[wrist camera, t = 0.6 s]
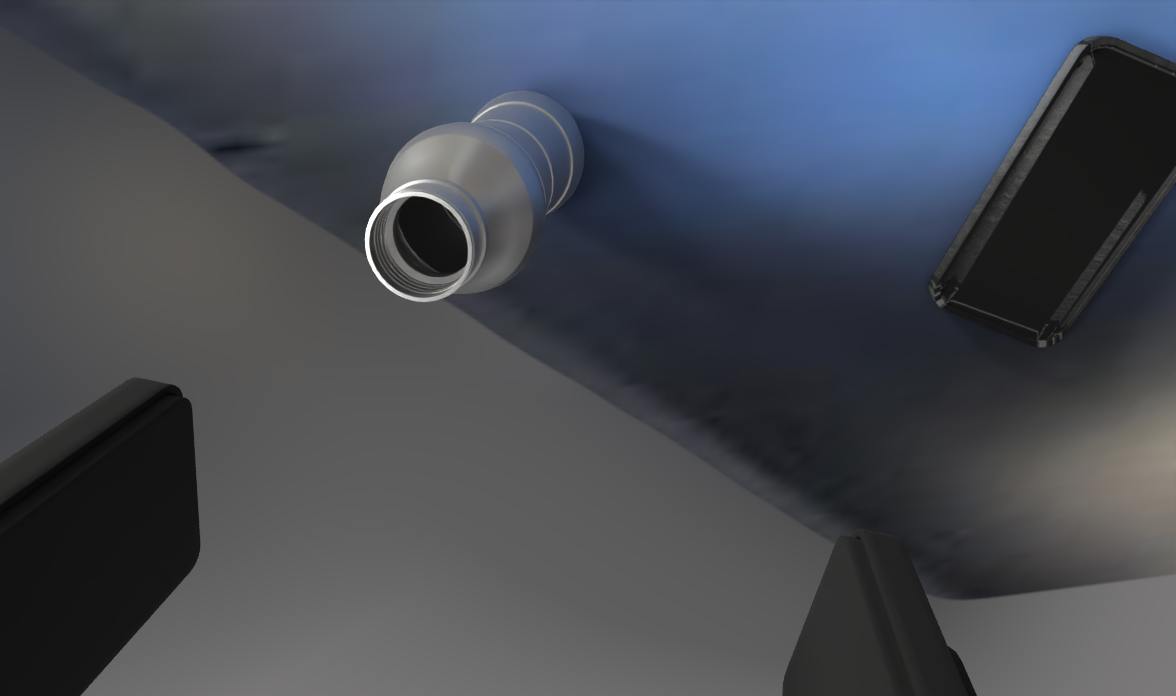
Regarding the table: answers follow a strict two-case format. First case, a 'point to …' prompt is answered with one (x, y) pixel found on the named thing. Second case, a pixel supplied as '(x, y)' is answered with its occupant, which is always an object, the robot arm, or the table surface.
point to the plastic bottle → (474, 198)
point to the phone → (1066, 195)
